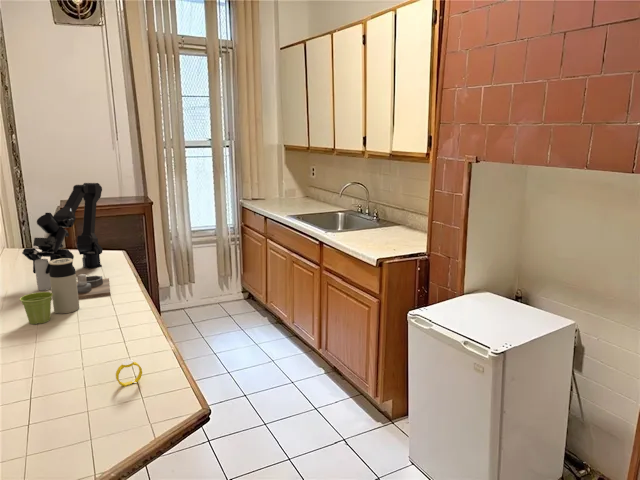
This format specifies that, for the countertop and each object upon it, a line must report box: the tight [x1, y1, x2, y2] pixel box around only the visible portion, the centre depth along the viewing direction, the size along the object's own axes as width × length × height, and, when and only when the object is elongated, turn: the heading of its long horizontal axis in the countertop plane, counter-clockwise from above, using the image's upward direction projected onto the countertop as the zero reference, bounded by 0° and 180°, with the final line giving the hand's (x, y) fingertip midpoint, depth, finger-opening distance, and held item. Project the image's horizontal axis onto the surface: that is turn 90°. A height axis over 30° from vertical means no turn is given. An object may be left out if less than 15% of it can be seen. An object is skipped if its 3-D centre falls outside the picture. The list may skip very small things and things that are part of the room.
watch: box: [115, 359, 143, 387], centre depth 117 cm, size 6×3×6 cm, turn 126°
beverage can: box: [34, 258, 51, 292], centre depth 188 cm, size 5×5×12 cm
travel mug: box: [48, 258, 80, 315], centre depth 165 cm, size 8×8×18 cm
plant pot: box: [19, 291, 53, 325], centre depth 156 cm, size 9×9×9 cm
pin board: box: [76, 273, 112, 300], centre depth 187 cm, size 20×16×8 cm
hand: (40, 273), depth 187 cm, fingers closed on beverage can, 5 cm apart
